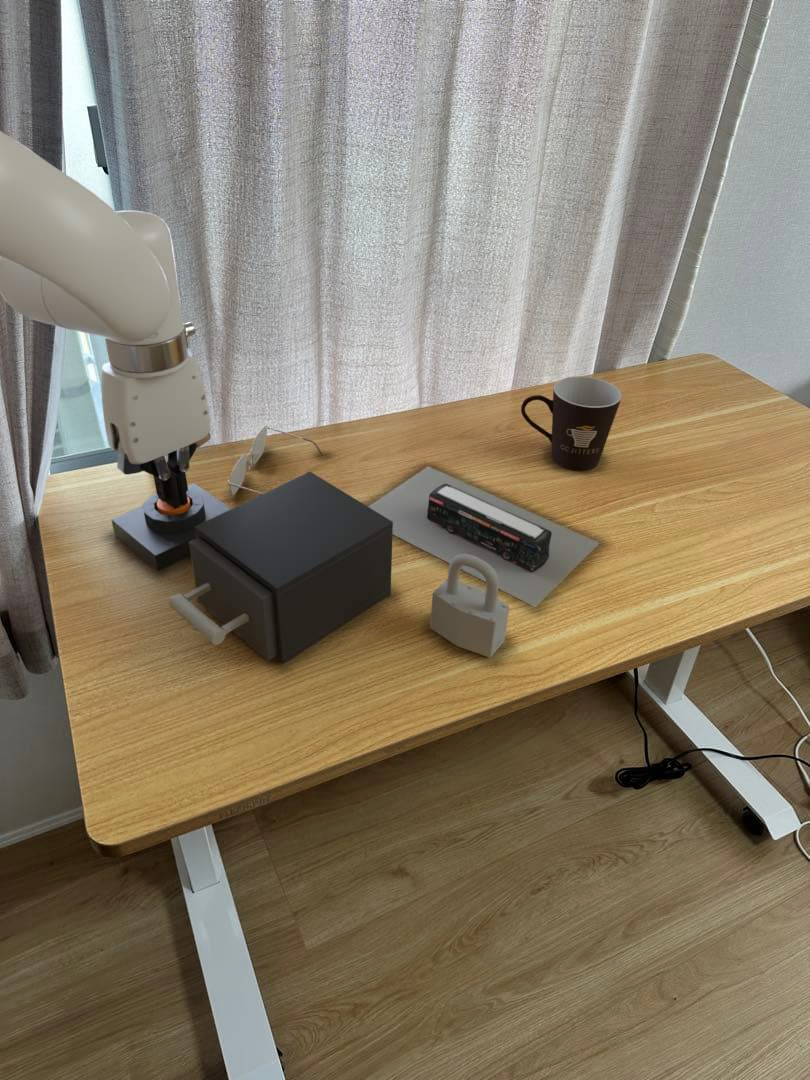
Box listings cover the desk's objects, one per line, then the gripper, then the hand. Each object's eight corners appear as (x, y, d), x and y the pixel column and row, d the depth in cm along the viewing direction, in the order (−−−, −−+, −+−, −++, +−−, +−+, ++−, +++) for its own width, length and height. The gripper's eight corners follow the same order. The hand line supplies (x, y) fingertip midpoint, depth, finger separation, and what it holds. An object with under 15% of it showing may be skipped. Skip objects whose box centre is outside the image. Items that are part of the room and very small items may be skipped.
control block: (158, 571, 87) (152, 542, 85) (114, 535, 92) (108, 506, 89) (241, 530, 93) (238, 501, 91) (196, 497, 98) (192, 470, 96)
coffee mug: (616, 454, 110) (631, 388, 104) (592, 483, 104) (607, 414, 98) (538, 429, 115) (548, 364, 108) (511, 455, 109) (520, 388, 103)
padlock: (507, 639, 81) (519, 561, 75) (487, 662, 78) (498, 584, 72) (447, 610, 84) (454, 533, 78) (426, 632, 81) (431, 554, 75)
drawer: (231, 684, 73) (222, 622, 69) (161, 622, 80) (149, 561, 75) (371, 595, 84) (372, 536, 79) (300, 546, 90) (297, 488, 85)
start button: (170, 527, 89) (168, 515, 88) (152, 513, 91) (150, 501, 90) (198, 514, 91) (196, 502, 90) (180, 501, 93) (178, 488, 92)
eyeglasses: (266, 445, 108) (266, 420, 106) (323, 458, 108) (325, 432, 105) (227, 503, 97) (226, 475, 95) (290, 517, 97) (291, 490, 94)
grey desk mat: (534, 607, 85) (540, 576, 82) (355, 515, 96) (355, 485, 94) (599, 543, 94) (606, 513, 91) (428, 466, 106) (429, 438, 103)
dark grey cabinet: (282, 664, 77) (276, 588, 71) (205, 600, 84) (194, 526, 78) (390, 594, 85) (393, 521, 79) (312, 541, 92) (309, 470, 86)
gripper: (190, 316, 85) (210, 463, 96) (56, 357, 77) (95, 513, 88) (233, 338, 81) (248, 489, 92) (96, 384, 73) (132, 544, 84)
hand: (174, 500), depth 90 cm, fingers closed
